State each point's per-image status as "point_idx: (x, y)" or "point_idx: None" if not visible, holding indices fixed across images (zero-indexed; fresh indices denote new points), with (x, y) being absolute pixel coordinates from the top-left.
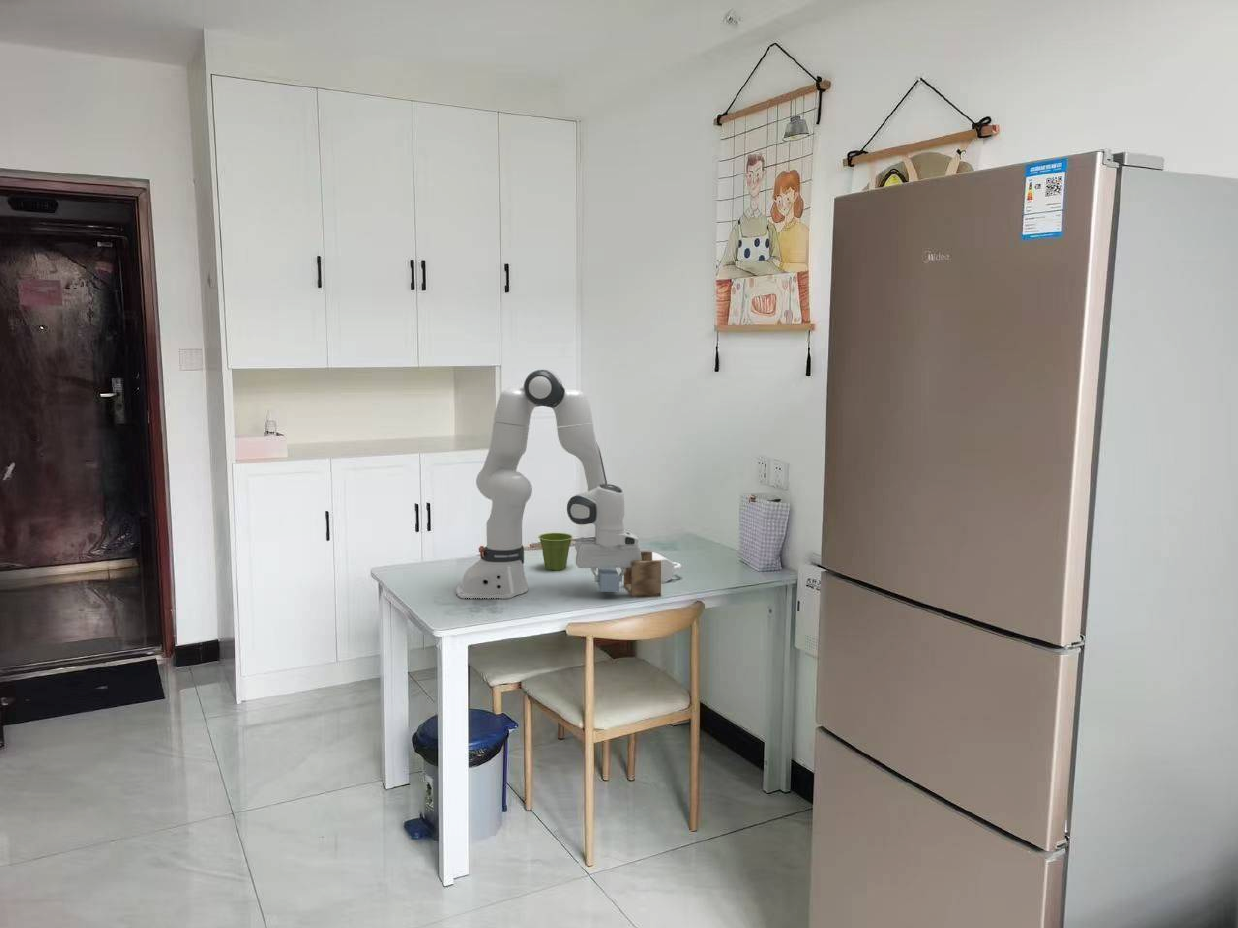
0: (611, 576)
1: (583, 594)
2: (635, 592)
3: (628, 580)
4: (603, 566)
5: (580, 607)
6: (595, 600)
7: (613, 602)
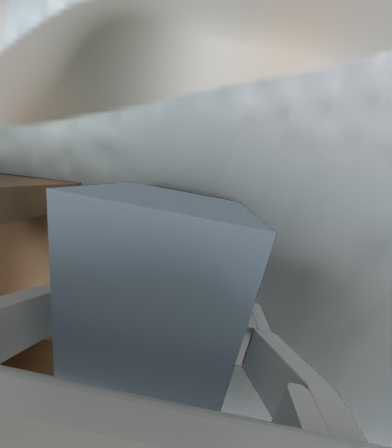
0: (148, 206)
1: (274, 297)
2: (44, 182)
3: (50, 355)
4: (211, 432)
5: (382, 100)
6: (259, 198)
7: (187, 135)
